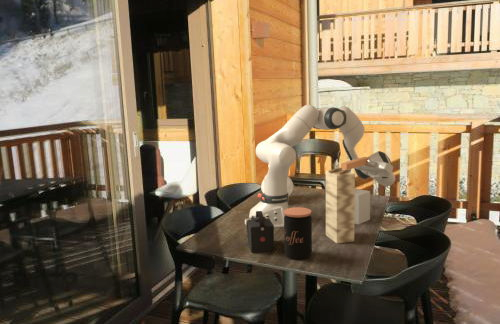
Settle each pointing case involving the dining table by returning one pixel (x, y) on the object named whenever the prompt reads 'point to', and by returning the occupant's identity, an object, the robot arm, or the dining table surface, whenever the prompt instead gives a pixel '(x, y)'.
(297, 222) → the coffee jar
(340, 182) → the stand
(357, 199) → the step
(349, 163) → the block
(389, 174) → the robot arm
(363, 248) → the dining table surface
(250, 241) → the camera
